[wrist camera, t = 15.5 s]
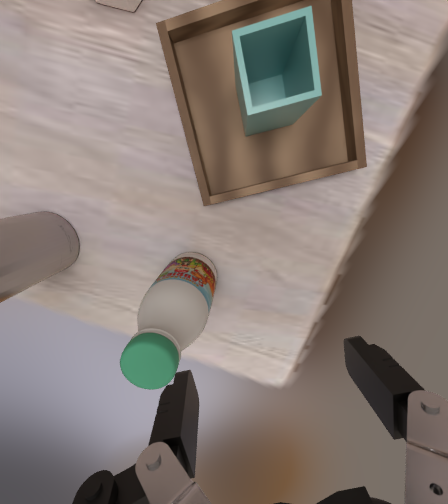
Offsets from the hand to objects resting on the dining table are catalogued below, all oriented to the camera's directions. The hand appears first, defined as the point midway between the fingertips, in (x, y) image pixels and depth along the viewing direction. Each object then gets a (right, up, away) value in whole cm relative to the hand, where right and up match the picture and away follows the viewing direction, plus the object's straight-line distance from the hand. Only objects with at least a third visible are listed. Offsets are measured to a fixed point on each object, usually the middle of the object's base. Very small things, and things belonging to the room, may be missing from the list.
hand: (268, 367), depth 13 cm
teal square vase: (+3, +24, +18) cm, 30 cm away
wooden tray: (+3, +24, +19) cm, 31 cm away
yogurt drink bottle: (-7, +2, +26) cm, 27 cm away
